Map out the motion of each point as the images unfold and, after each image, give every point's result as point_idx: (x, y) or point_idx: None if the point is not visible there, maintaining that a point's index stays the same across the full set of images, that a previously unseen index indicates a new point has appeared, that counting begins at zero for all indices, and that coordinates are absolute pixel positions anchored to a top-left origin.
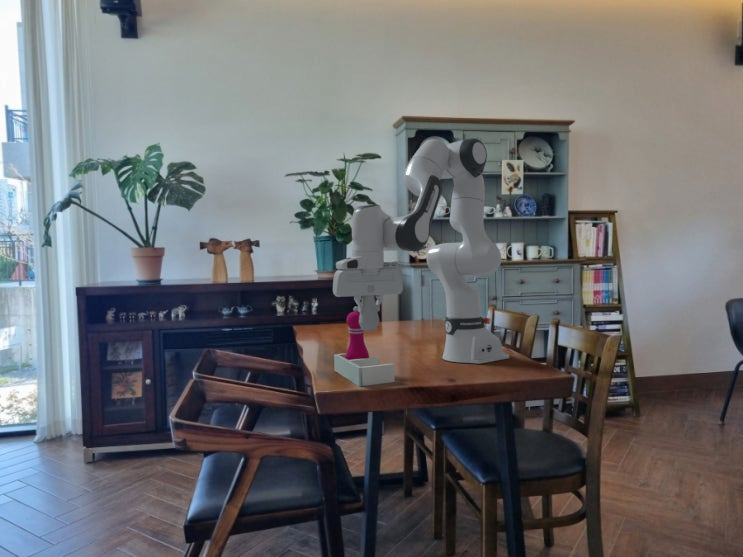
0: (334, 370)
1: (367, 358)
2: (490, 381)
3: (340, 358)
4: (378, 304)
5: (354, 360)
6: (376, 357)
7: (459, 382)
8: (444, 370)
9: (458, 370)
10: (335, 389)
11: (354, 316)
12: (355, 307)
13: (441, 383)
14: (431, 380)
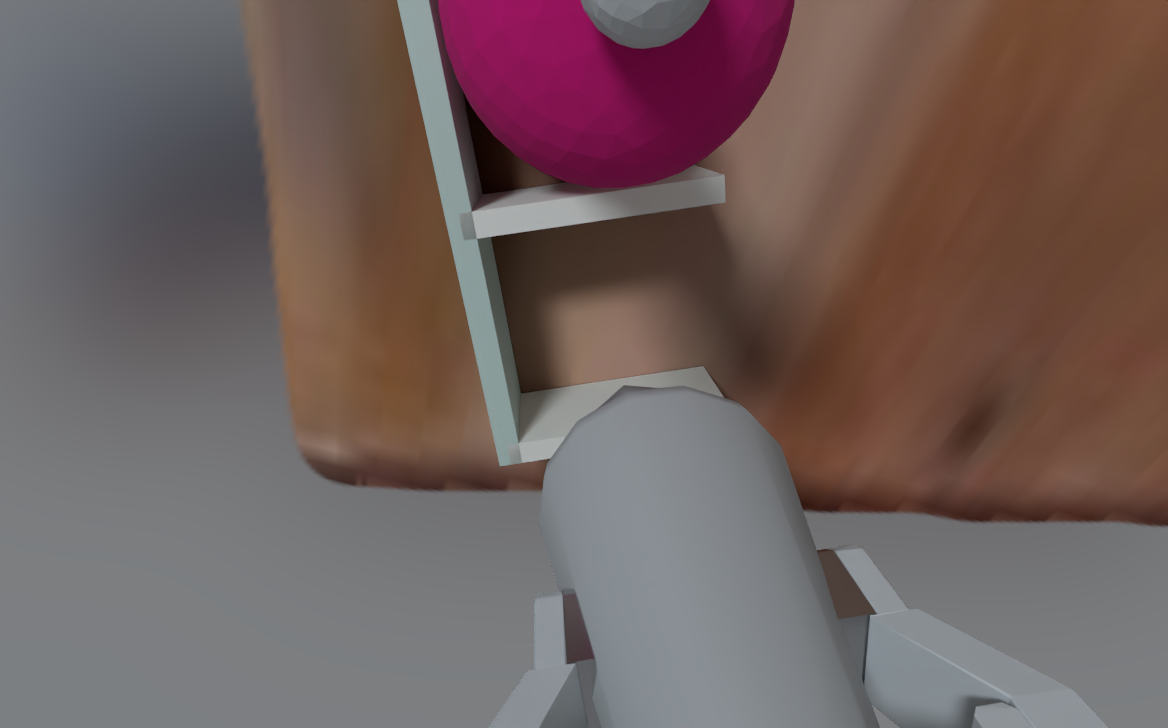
0: None
1: (628, 202)
2: (1100, 490)
3: (419, 99)
4: (883, 702)
5: (517, 232)
6: (704, 189)
7: (976, 470)
8: (1090, 215)
9: (1154, 243)
10: (377, 430)
11: (553, 158)
12: (624, 4)
13: (895, 465)
14: (887, 404)
